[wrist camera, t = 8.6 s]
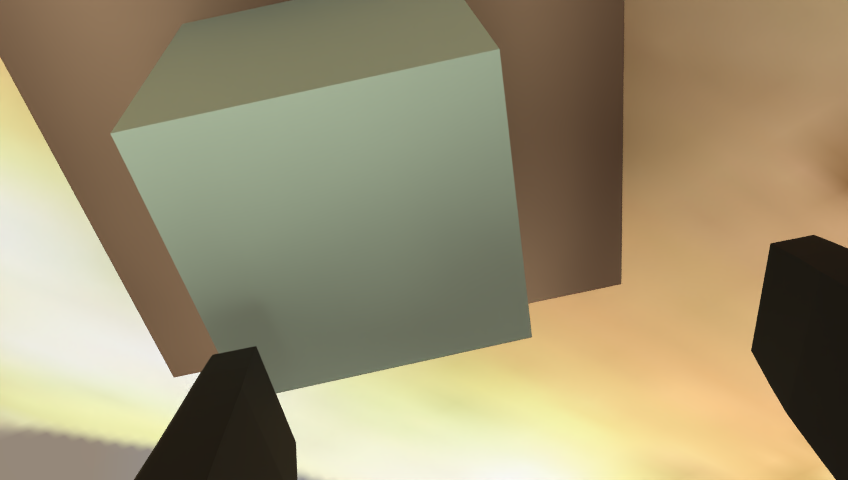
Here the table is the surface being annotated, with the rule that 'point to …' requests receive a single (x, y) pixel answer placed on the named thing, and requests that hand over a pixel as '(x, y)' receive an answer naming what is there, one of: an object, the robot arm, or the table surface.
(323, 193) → the sage block
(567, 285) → the walnut base
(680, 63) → the table surface
